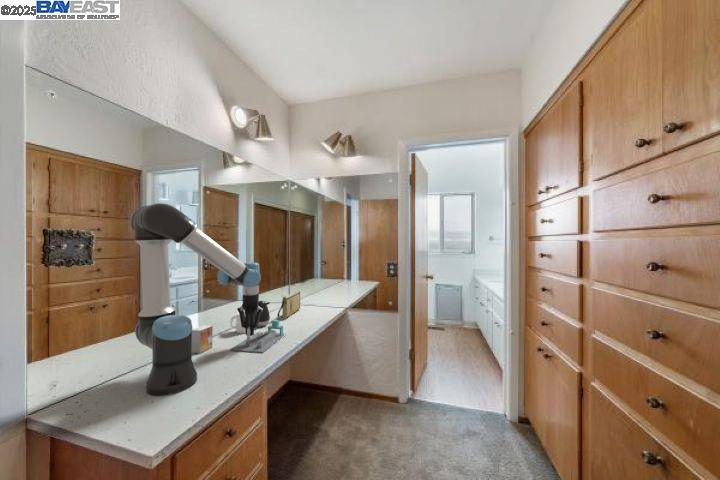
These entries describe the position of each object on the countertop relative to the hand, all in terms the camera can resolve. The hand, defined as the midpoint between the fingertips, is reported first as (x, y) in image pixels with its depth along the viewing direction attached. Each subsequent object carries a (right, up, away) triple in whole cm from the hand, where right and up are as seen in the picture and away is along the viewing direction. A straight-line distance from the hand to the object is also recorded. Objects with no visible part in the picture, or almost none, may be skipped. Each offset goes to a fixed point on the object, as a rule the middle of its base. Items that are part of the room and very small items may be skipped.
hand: (249, 341), depth 139 cm
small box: (-20, -2, -6) cm, 21 cm away
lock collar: (+9, -1, +14) cm, 17 cm away
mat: (+4, -2, +4) cm, 6 cm away
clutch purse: (+5, -3, +59) cm, 59 cm away
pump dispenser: (-6, -2, +33) cm, 33 cm away
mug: (-13, -2, +22) cm, 26 cm away
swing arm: (+3, -1, +3) cm, 5 cm away
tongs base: (+8, -1, +3) cm, 8 cm away
